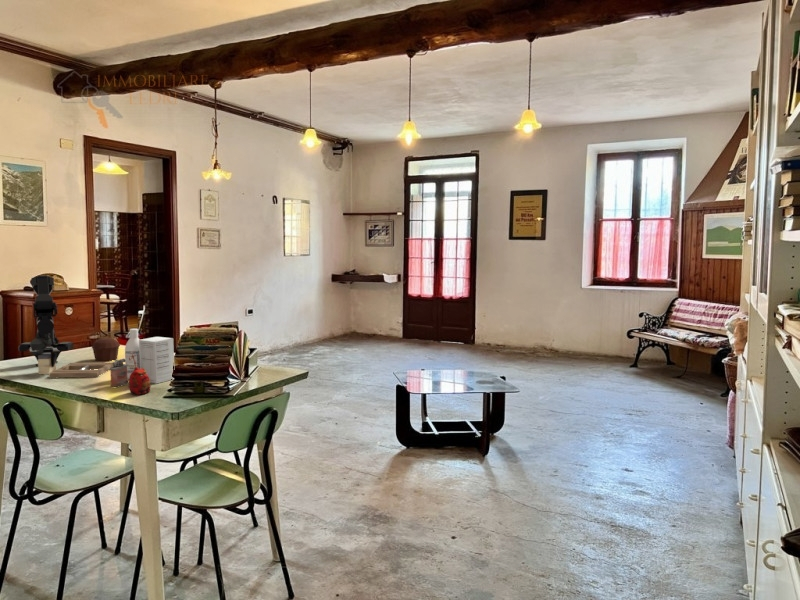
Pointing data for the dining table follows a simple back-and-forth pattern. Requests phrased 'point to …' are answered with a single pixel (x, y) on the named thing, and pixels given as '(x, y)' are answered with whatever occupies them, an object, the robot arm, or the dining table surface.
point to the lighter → (119, 373)
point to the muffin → (105, 349)
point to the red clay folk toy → (139, 380)
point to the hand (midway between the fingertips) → (47, 366)
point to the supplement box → (157, 358)
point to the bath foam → (132, 348)
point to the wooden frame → (81, 370)
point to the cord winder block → (45, 363)
